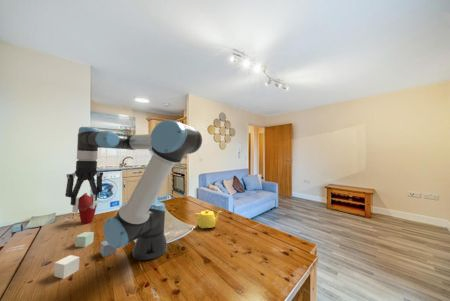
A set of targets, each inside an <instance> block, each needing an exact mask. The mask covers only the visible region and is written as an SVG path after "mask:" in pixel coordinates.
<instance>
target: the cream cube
mask: <svg viewBox="0 0 450 301" xmlns="http://www.w3.org/2000/svg"><path fill="white" fill-rule="evenodd" d="M80 258H81V257H80V256H76V255H72V254H70V255H67V256H65V257H63V258H61V259H59V260H57V261H55V262H54V268H53V269H54V270H53V276H54V277H56V278H60V279H62V280H63V279H66V278H68V277H69V276H71V275H72V274H74V273H76V272H77V271H79V270H80Z"/></svg>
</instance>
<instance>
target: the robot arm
mask: <svg viewBox="0 0 450 301" xmlns="http://www.w3.org/2000/svg"><path fill="white" fill-rule="evenodd" d="M202 144H203V137H202V134H201V132H200V131H199V130H198V129H197V128H196V127H193V126H190V125H189V124H185V123H183V122H180V121H177V120H172V119H166V120H162V121H160V122H158V123H157V124H156V125H155V126H154V128H153V129H152V131H151V134H149V133H147V134H145V133H144V134H123V133H119V132H118V133H117V132H115V131H111V130H100V131H99V129H98V128H96V127H91V126H81V127H78V133H77V146H76V147H77V150H76V163H75V171H74V172H73V173H67V174H66V179H67V181H66V186H65V187H66V188H65V194H64V195H65V197H67V198H70V205H71V206H72V213H76V214H77V213H79V210H78V200H79V198H80V197H78V194H79V191H80V189H81V187H82V185H83V183H84V181H88V182H89V186H90V187H89V188H90V189H91V194H90V195H89V196H90V197H91V198H92V201H93V202H92V204H91V206H90V208H92V209H94V208H95V203H96V201H97V200H98V195H100V193H102V192H103V175H104V172H101V171H98V170H97V168H98V167H97V166H98V161H97V160H98V155H99V154H98V152H99V148H100V149H114V150H115V149H118V150H128V151H129V150H130V151H135V150H151V153H152V156H151V157H150V160H149V161H148V163H147V166H146V167H145V168H144V171H143V173H142V174H141V176H140V178H139V180H138V182H137V184H136V186H135V188H134V190H133V191H132V193H131V195H130V197H129V199H128V201H127V203H124V204H122V205H121V206H120V207H119V209H118V211H117V213H116V214H115V216H112V217H109V218H107V219H106V220H105V222H104V223H103V228H102V230H103V232H102V233H103V236H104V237H103V238H104V239H105V241H107V243H108V244H109V245H110V246H111V247H113V248H116V249H119V248H122V247H124V246H127V245H129V244H130V243H132V242H133V241H135V244H134V246H133V248H132V257H133V259H135V260H138V261H151V260H155V259H157V258H159V257H161V256H163V255H164V254H165V253H166V252H167V250H168V242H167V243H166V241H167V237H166V235H165V221H166V219H165V217H166V204H165V203H164V202H162V201H155V200H156V198H157V196H158V194H159V192H160V191H161V189H162V188H163V186H164V184H165V182H166V181H167V178H168V177H169V175H170V173H171V171H172V169H173V168H174V166H175V165H176V164H180V163H181V161H182V160H183V158H184V156H185V155H190V154H194V153H196V152H197V151H199V149H200V148H201V147H202ZM95 177H96V179H95ZM75 178H77V179H76V182H75V180H74V179H75ZM95 180H96V182H95ZM74 183H75V184H74Z"/></svg>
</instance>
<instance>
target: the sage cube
mask: <svg viewBox="0 0 450 301" xmlns="http://www.w3.org/2000/svg"><path fill="white" fill-rule="evenodd" d="M94 238H95V232H94V231H84V232H81V233H80V234H77V235H76V236H75V243H74V247H75V248H87V247H88V246H89V245H91V244H92V243H94Z"/></svg>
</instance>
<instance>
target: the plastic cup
mask: <svg viewBox="0 0 450 301" xmlns="http://www.w3.org/2000/svg"><path fill="white" fill-rule="evenodd" d="M97 206H98V202H95V208H94V209H92V208H90V207H89V208H87V209H86V210H85V211H83V210H80V209H79V208H78V214H79V219H80V223H81V225H89V224H92V223H93V221H94V218H95V214H96V211H97V210H96V209H97Z"/></svg>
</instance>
